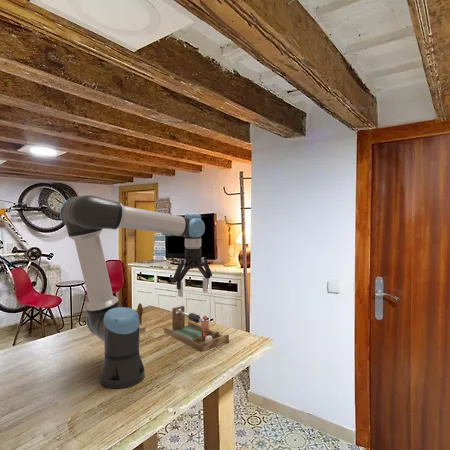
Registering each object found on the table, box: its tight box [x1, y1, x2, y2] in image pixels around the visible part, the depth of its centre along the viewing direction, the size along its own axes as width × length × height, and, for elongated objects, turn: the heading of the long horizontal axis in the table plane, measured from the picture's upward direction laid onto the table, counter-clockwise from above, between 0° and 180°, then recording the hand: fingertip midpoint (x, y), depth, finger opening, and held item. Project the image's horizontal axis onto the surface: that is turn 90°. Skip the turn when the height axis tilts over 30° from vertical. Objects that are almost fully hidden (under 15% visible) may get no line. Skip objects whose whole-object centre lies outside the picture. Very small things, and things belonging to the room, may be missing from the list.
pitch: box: [163, 305, 230, 352], centre depth 153 cm, size 15×30×12 cm, turn 40°
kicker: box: [176, 309, 210, 342], centre depth 156 cm, size 3×27×11 cm, turn 40°
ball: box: [205, 336, 213, 341], centre depth 145 cm, size 4×4×4 cm
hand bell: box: [136, 303, 150, 342], centre depth 155 cm, size 8×8×16 cm
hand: (193, 294), depth 152 cm, fingers open, 13 cm apart
